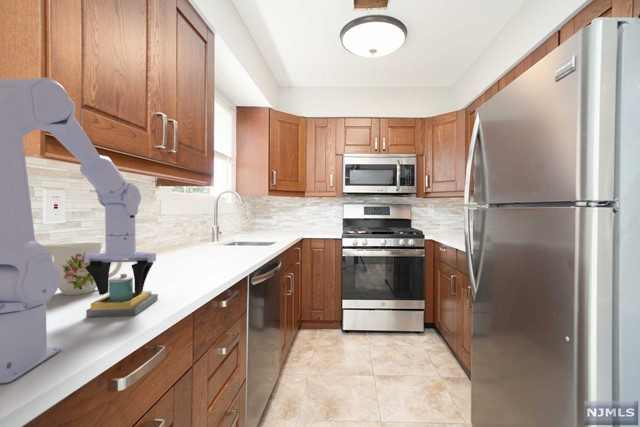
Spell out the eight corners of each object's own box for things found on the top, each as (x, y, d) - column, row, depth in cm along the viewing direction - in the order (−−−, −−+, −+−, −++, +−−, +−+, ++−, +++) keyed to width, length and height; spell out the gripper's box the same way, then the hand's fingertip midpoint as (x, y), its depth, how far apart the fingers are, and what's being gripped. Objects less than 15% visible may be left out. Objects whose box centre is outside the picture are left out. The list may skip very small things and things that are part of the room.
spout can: (126, 306, 65) (126, 277, 65) (104, 307, 65) (104, 277, 65) (137, 300, 70) (136, 272, 70) (116, 300, 69) (116, 273, 69)
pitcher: (126, 288, 85) (125, 241, 85) (41, 302, 72) (40, 247, 72) (117, 281, 93) (117, 238, 92) (39, 293, 80) (38, 243, 79)
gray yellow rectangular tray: (135, 315, 64) (135, 302, 64) (86, 317, 63) (86, 303, 63) (160, 297, 76) (160, 286, 76) (119, 299, 75) (119, 287, 75)
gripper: (161, 233, 72) (161, 287, 72) (98, 233, 70) (98, 289, 71) (147, 235, 65) (148, 296, 65) (77, 236, 63) (78, 298, 64)
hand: (121, 293), depth 67 cm, fingers open, 7 cm apart
